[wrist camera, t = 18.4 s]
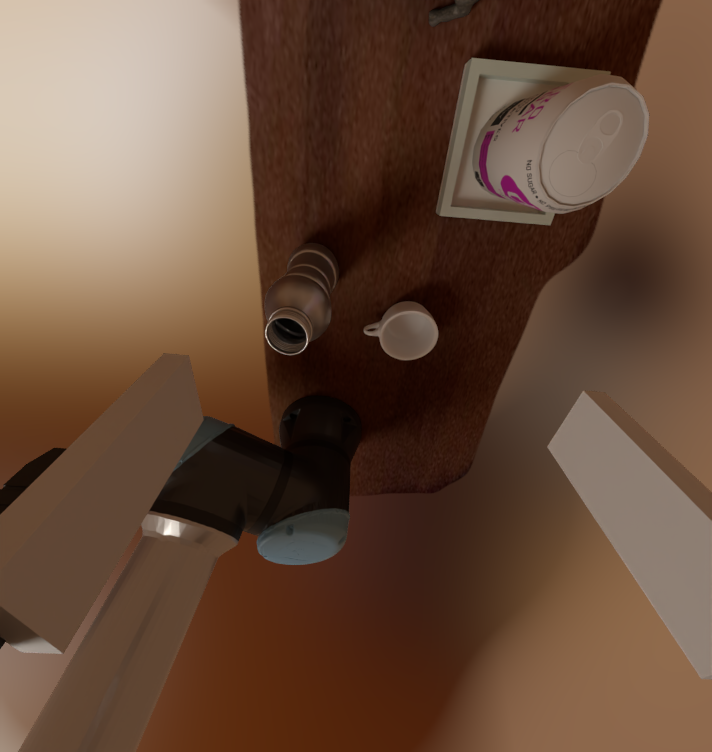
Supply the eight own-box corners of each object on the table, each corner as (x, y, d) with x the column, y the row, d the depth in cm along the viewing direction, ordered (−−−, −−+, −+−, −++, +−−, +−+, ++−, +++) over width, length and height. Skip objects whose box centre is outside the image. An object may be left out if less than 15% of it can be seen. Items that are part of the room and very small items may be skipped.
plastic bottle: (323, 228, 39) (294, 282, 23) (349, 276, 43) (341, 351, 27) (281, 254, 41) (228, 320, 25) (310, 297, 45) (280, 380, 28)
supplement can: (512, 208, 37) (586, 235, 25) (455, 172, 35) (504, 182, 23) (567, 129, 33) (688, 115, 20) (505, 83, 31) (598, 37, 19)
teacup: (434, 293, 44) (441, 309, 40) (428, 341, 49) (434, 360, 44) (363, 295, 44) (363, 311, 40) (364, 342, 49) (364, 361, 45)
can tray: (540, 221, 38) (550, 225, 36) (435, 212, 38) (439, 215, 36) (595, 76, 31) (611, 71, 29) (465, 64, 31) (472, 57, 29)
